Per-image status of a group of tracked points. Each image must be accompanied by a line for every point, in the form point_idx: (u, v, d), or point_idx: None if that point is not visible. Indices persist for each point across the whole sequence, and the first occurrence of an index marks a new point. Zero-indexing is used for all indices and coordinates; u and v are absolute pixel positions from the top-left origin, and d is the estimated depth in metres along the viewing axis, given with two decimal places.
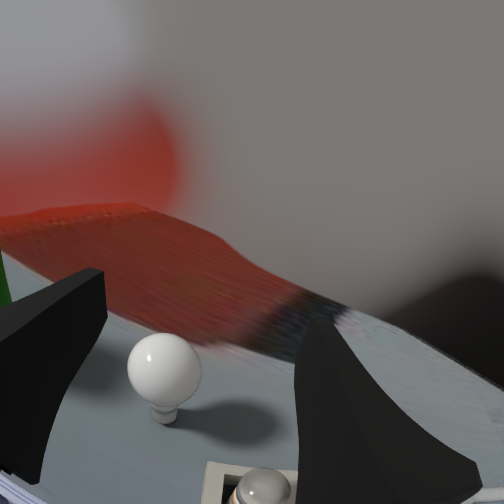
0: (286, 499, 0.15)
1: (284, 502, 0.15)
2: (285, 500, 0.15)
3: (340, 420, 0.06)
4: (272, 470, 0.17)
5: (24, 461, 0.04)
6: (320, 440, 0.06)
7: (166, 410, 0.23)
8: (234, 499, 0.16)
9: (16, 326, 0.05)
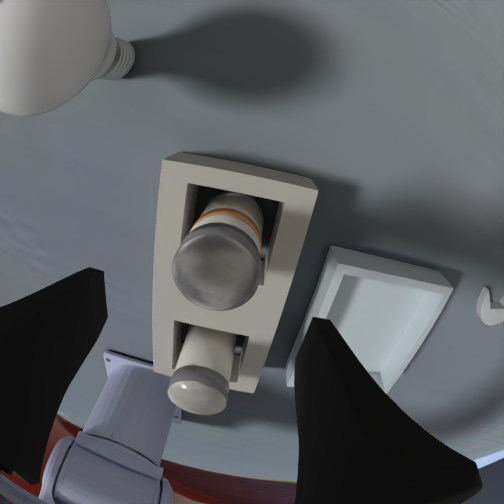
0: (246, 298, 0.13)
1: (242, 302, 0.13)
2: (244, 299, 0.13)
3: (340, 420, 0.06)
4: (233, 241, 0.12)
5: (24, 461, 0.04)
6: (320, 440, 0.06)
7: (92, 80, 0.12)
8: None
9: (15, 326, 0.05)
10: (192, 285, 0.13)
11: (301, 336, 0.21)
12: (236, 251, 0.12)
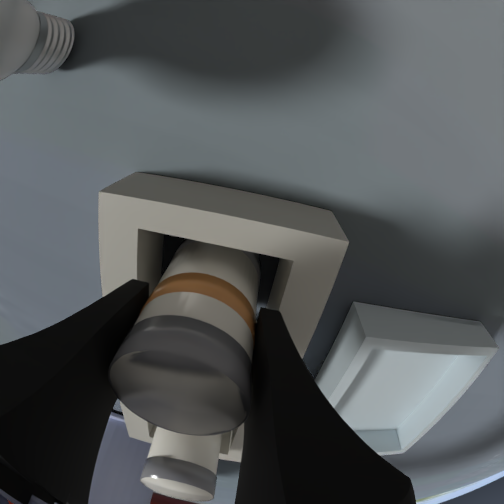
0: (230, 427, 0.07)
1: (223, 430, 0.07)
2: (227, 428, 0.07)
3: (265, 414, 0.06)
4: (199, 364, 0.06)
5: (76, 489, 0.04)
6: (253, 434, 0.06)
7: (3, 77, 0.06)
8: None
9: (70, 351, 0.05)
10: (144, 406, 0.07)
11: None
12: (207, 377, 0.06)
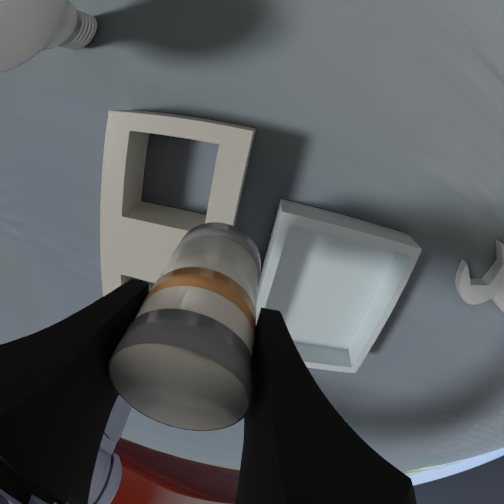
0: (232, 421, 0.07)
1: (225, 425, 0.07)
2: (229, 422, 0.07)
3: (265, 414, 0.06)
4: (197, 356, 0.06)
5: (76, 489, 0.04)
6: (253, 434, 0.06)
7: (54, 46, 0.11)
8: None
9: (70, 350, 0.05)
10: (146, 402, 0.07)
11: None
12: (205, 369, 0.06)
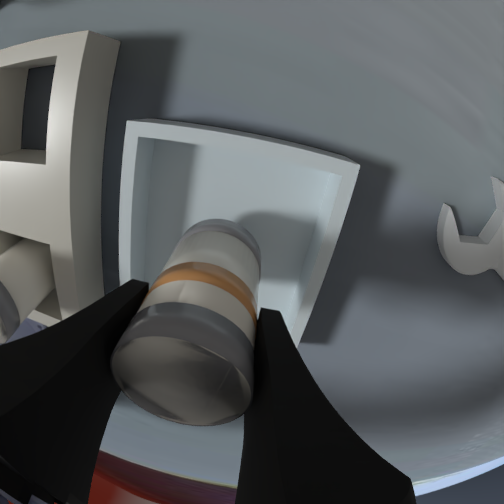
0: (236, 414, 0.07)
1: (230, 418, 0.07)
2: (233, 415, 0.07)
3: (265, 414, 0.06)
4: (195, 347, 0.06)
5: (76, 489, 0.04)
6: (253, 434, 0.06)
7: None
8: None
9: (70, 350, 0.05)
10: (149, 398, 0.07)
11: None
12: (205, 360, 0.06)
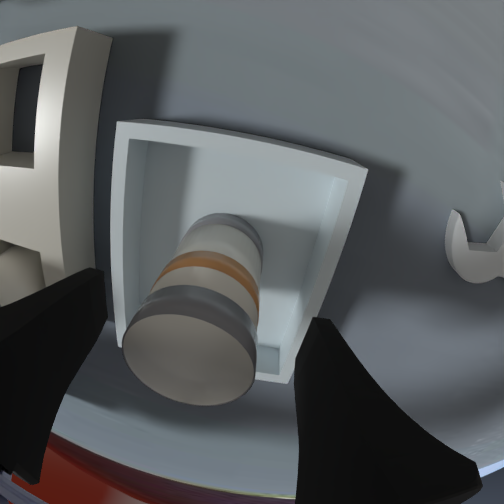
0: (240, 393, 0.08)
1: (234, 397, 0.08)
2: (237, 394, 0.08)
3: (340, 420, 0.06)
4: (203, 324, 0.07)
5: (24, 461, 0.04)
6: (320, 440, 0.06)
7: None
8: None
9: (16, 326, 0.05)
10: (158, 378, 0.08)
11: None
12: (211, 337, 0.07)
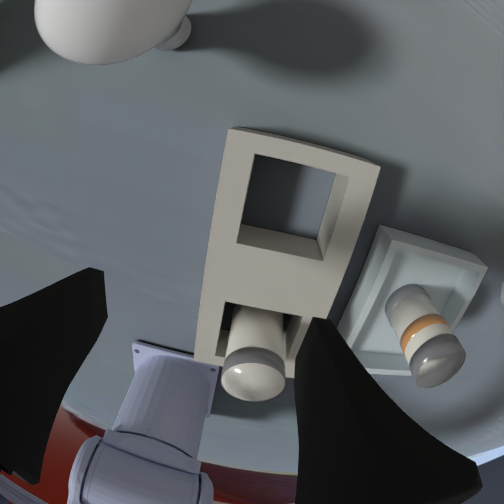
0: (452, 375, 0.15)
1: (448, 378, 0.15)
2: (450, 376, 0.15)
3: (340, 420, 0.06)
4: (458, 349, 0.14)
5: (24, 461, 0.04)
6: (320, 440, 0.06)
7: None
8: (405, 351, 0.17)
9: (16, 327, 0.05)
10: (425, 377, 0.15)
11: (347, 317, 0.21)
12: (458, 353, 0.14)
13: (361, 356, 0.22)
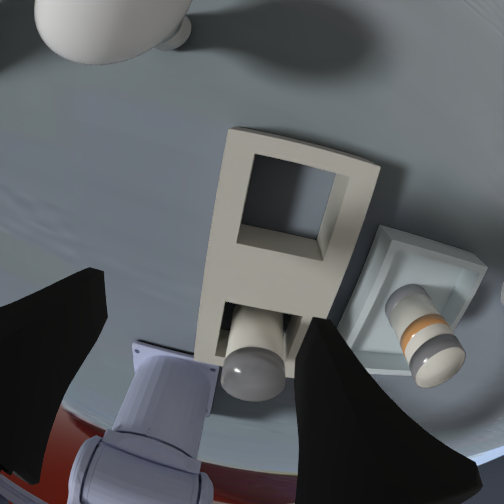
0: (452, 376, 0.15)
1: (448, 378, 0.15)
2: (450, 376, 0.15)
3: (340, 420, 0.06)
4: (458, 349, 0.14)
5: (24, 461, 0.04)
6: (320, 440, 0.06)
7: None
8: (405, 351, 0.17)
9: (16, 327, 0.05)
10: (425, 377, 0.15)
11: (347, 317, 0.21)
12: (458, 353, 0.14)
13: (361, 356, 0.22)
